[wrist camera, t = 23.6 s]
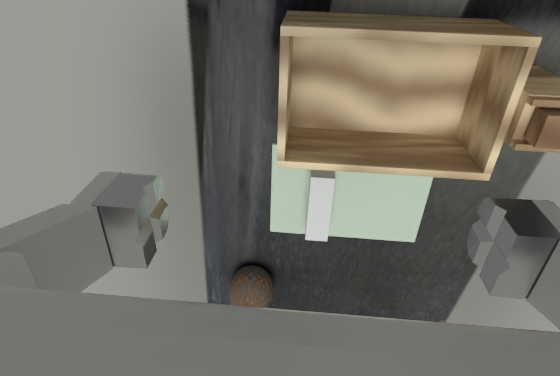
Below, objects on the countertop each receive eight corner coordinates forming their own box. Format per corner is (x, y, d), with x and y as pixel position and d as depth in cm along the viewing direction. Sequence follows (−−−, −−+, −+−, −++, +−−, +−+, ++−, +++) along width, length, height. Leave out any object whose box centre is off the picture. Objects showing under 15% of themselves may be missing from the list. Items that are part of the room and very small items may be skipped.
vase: (282, 282, 63) (277, 326, 56) (246, 293, 66) (237, 337, 58) (262, 253, 60) (254, 295, 53) (225, 265, 62) (213, 308, 55)
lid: (273, 140, 50) (269, 158, 46) (437, 151, 50) (449, 170, 45) (270, 226, 58) (267, 249, 54) (412, 237, 57) (420, 260, 53)
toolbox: (287, 10, 41) (278, 30, 31) (553, 21, 40) (635, 46, 30) (283, 129, 49) (274, 177, 39) (507, 142, 47) (560, 195, 37)
